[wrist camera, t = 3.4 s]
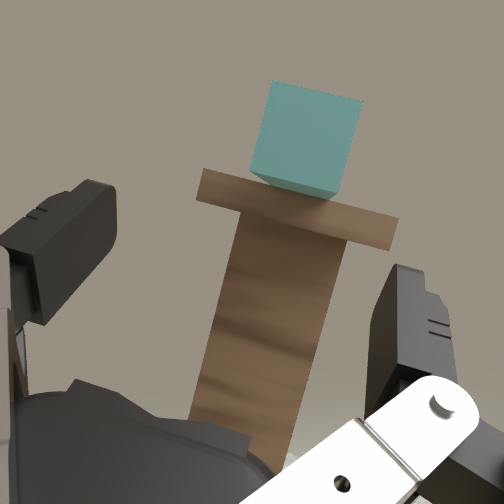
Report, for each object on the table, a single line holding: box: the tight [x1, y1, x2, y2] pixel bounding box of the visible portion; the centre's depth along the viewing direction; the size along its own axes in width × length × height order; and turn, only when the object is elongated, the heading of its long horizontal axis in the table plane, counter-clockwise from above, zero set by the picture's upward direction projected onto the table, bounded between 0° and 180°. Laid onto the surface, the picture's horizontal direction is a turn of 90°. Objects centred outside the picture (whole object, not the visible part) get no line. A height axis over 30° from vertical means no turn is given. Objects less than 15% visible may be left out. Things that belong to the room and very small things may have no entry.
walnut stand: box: [188, 168, 399, 475], centre depth 39 cm, size 20×16×32 cm
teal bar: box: [249, 80, 363, 200], centre depth 30 cm, size 26×4×4 cm, turn 172°
